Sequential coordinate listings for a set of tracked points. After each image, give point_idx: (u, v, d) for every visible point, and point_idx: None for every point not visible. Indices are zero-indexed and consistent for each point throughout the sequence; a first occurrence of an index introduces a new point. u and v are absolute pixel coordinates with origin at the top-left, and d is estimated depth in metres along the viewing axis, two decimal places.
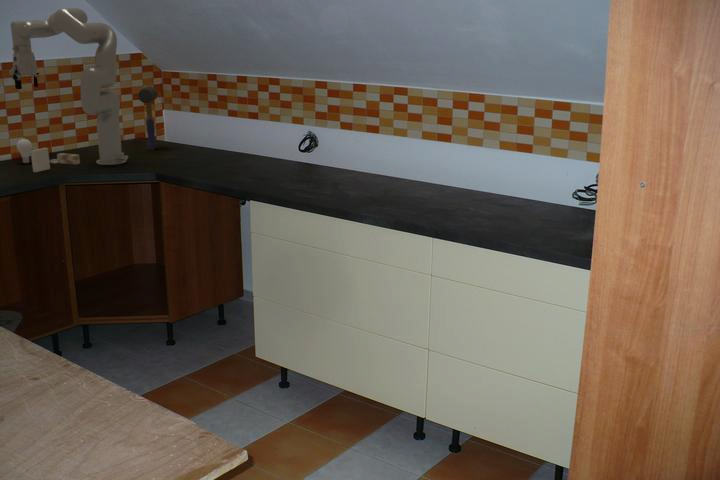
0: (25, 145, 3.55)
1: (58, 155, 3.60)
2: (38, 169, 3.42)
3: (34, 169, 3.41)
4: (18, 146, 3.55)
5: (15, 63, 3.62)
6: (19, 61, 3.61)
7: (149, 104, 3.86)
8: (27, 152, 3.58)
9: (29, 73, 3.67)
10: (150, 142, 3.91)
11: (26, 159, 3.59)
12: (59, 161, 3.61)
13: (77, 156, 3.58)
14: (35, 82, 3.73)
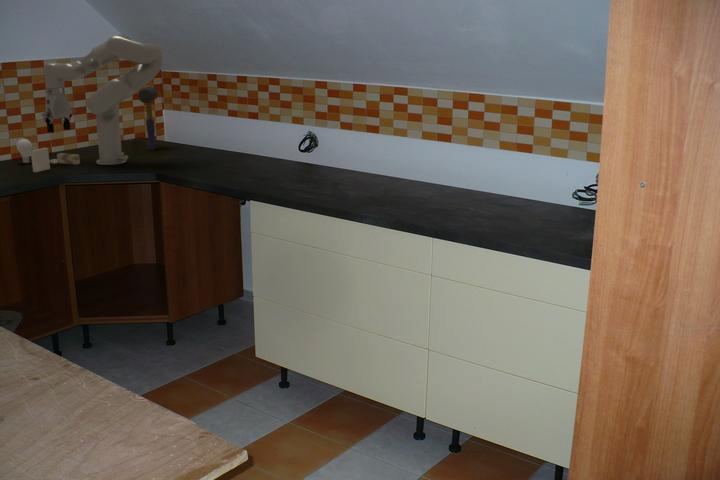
0: (25, 145, 3.55)
1: (58, 155, 3.60)
2: (38, 169, 3.42)
3: (34, 169, 3.41)
4: (18, 146, 3.55)
5: (48, 106, 3.50)
6: (52, 104, 3.49)
7: (149, 104, 3.86)
8: (27, 152, 3.58)
9: (62, 116, 3.55)
10: (150, 142, 3.91)
11: (26, 159, 3.59)
12: (59, 161, 3.61)
13: (77, 156, 3.58)
14: (67, 125, 3.61)
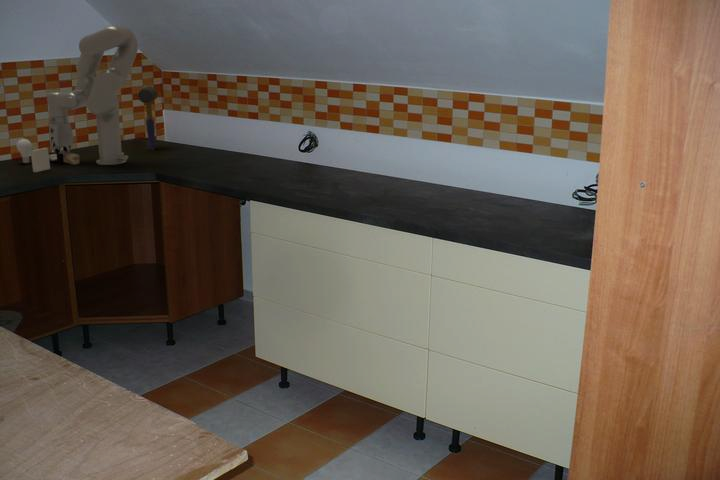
0: (25, 145, 3.55)
1: None
2: (38, 169, 3.42)
3: (34, 169, 3.41)
4: (18, 146, 3.55)
5: (52, 135, 3.54)
6: (56, 133, 3.53)
7: (149, 104, 3.86)
8: (27, 152, 3.58)
9: (66, 144, 3.58)
10: (150, 142, 3.91)
11: (26, 159, 3.59)
12: None
13: (77, 156, 3.58)
14: None
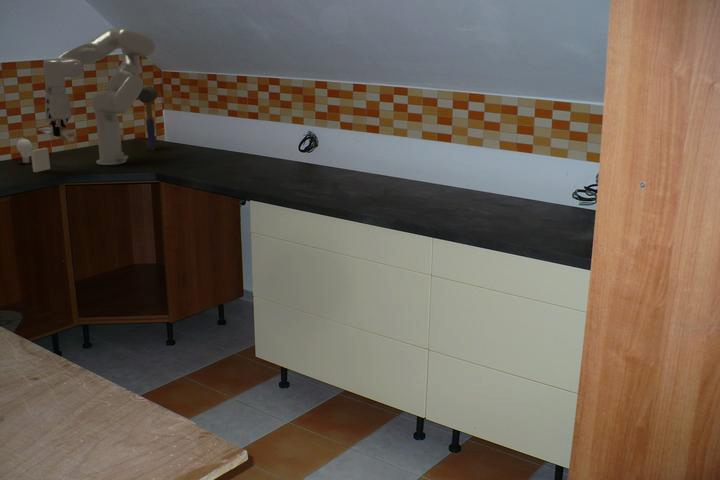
0: (25, 145, 3.55)
1: None
2: (38, 169, 3.42)
3: (34, 169, 3.41)
4: (18, 146, 3.55)
5: (47, 106, 3.29)
6: (52, 104, 3.29)
7: (149, 104, 3.86)
8: (27, 152, 3.58)
9: (62, 117, 3.34)
10: (150, 142, 3.91)
11: (26, 159, 3.59)
12: (52, 133, 3.37)
13: (72, 133, 3.34)
14: None
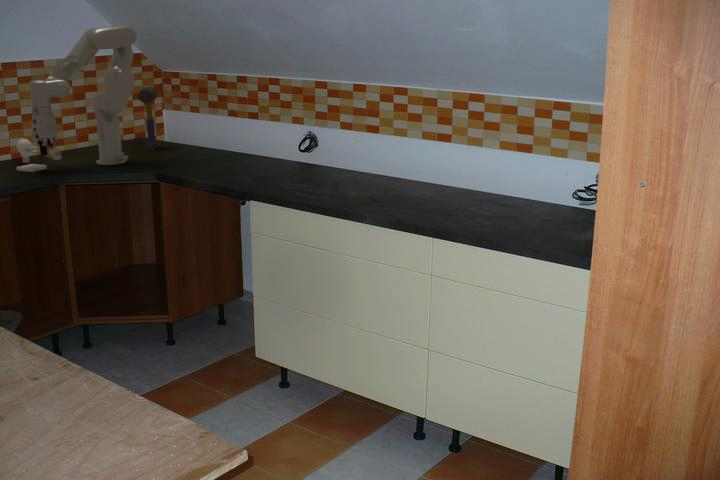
0: (25, 145, 3.55)
1: None
2: (33, 167, 3.43)
3: (30, 170, 3.42)
4: (18, 146, 3.55)
5: (34, 126, 3.34)
6: (39, 124, 3.33)
7: (149, 104, 3.86)
8: (27, 152, 3.58)
9: (49, 136, 3.38)
10: (150, 142, 3.91)
11: (26, 159, 3.59)
12: (39, 152, 3.41)
13: (59, 151, 3.39)
14: None
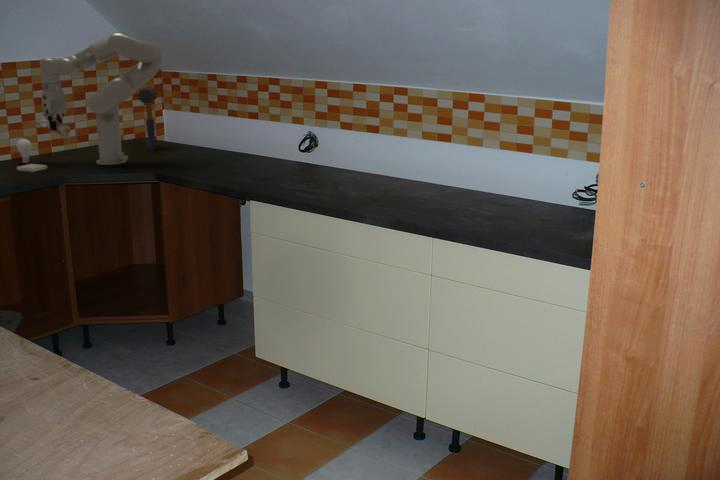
0: (25, 145, 3.55)
1: None
2: (33, 167, 3.43)
3: (30, 170, 3.42)
4: (18, 146, 3.55)
5: (44, 102, 3.48)
6: (49, 100, 3.47)
7: (149, 104, 3.86)
8: (27, 152, 3.58)
9: (59, 111, 3.52)
10: (150, 142, 3.91)
11: (26, 159, 3.59)
12: (48, 126, 3.55)
13: (68, 129, 3.53)
14: None
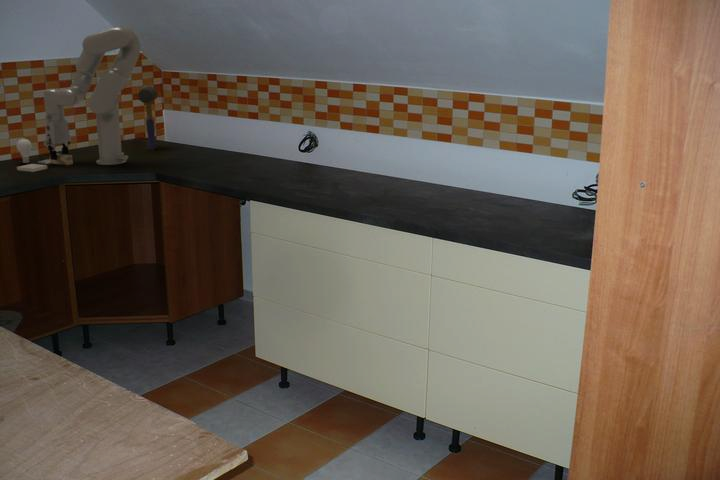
0: (25, 145, 3.55)
1: None
2: (33, 167, 3.43)
3: (30, 170, 3.42)
4: (18, 146, 3.55)
5: (48, 132, 3.52)
6: (52, 130, 3.51)
7: (149, 104, 3.86)
8: (27, 152, 3.58)
9: (62, 142, 3.56)
10: (150, 142, 3.91)
11: (26, 159, 3.59)
12: (52, 161, 3.60)
13: (70, 156, 3.57)
14: (66, 152, 3.61)
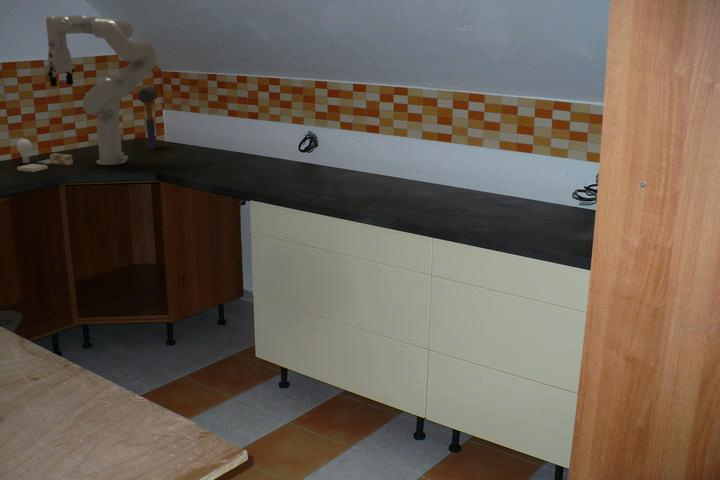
0: (25, 145, 3.55)
1: (51, 155, 3.59)
2: (33, 167, 3.43)
3: (30, 170, 3.42)
4: (18, 146, 3.55)
5: (50, 60, 3.51)
6: (55, 57, 3.50)
7: (149, 104, 3.86)
8: (27, 152, 3.58)
9: (64, 70, 3.55)
10: (150, 142, 3.91)
11: (26, 159, 3.59)
12: (52, 161, 3.60)
13: (70, 156, 3.57)
14: (70, 79, 3.61)
